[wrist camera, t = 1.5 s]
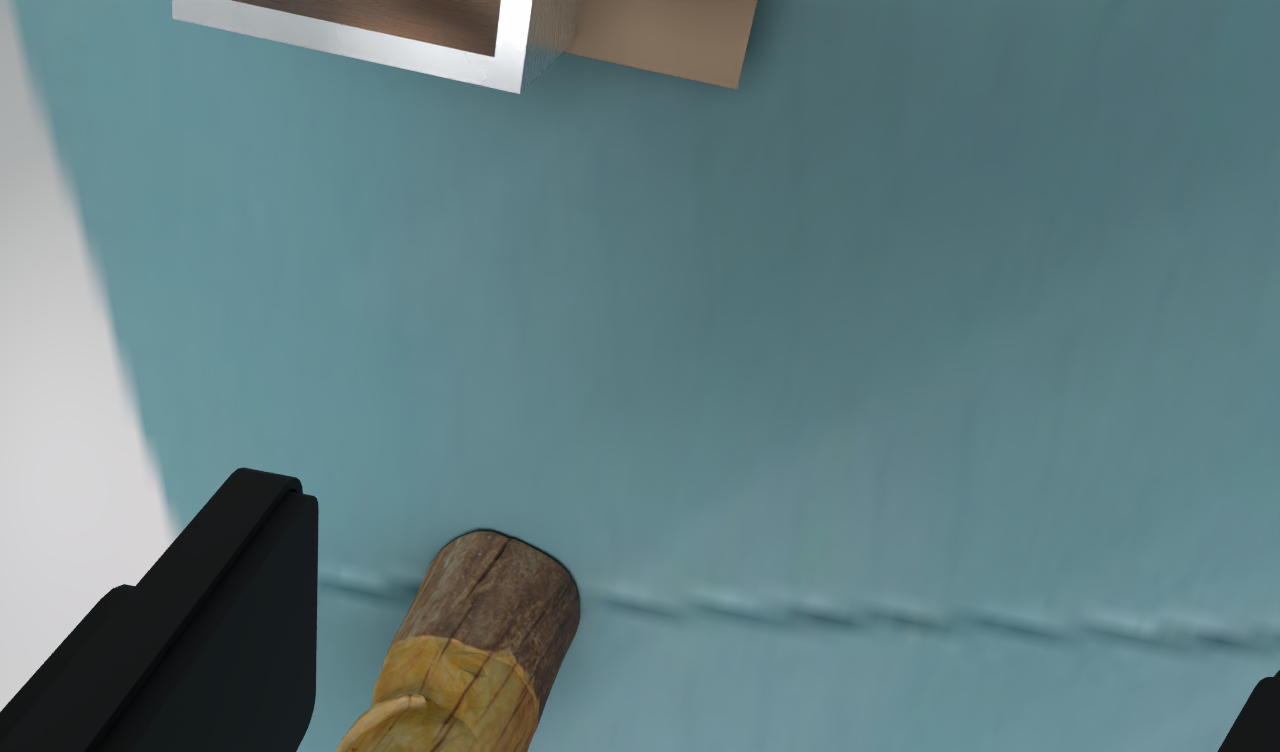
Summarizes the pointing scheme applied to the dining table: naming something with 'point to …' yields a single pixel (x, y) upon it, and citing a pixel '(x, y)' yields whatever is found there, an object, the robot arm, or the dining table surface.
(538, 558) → the sculpture
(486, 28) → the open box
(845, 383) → the dining table surface
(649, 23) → the ledge
